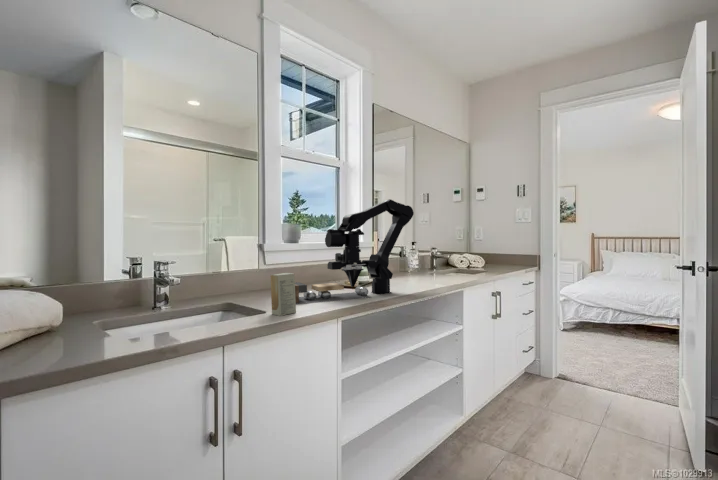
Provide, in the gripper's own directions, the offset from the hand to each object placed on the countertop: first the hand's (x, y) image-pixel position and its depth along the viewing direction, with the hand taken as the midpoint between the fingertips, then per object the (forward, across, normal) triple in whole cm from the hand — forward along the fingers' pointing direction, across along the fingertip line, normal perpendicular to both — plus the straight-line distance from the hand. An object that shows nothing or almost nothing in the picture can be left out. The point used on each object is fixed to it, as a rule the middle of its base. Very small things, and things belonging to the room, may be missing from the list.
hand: (352, 286), depth 145 cm
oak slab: (0, +10, 0) cm, 10 cm away
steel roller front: (+3, +13, 0) cm, 13 cm away
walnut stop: (+4, +23, 0) cm, 23 cm away
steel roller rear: (+2, -2, 0) cm, 3 cm away
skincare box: (+4, +32, +20) cm, 38 cm away
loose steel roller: (+3, +18, 0) cm, 18 cm away
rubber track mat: (+4, +11, 0) cm, 12 cm away
